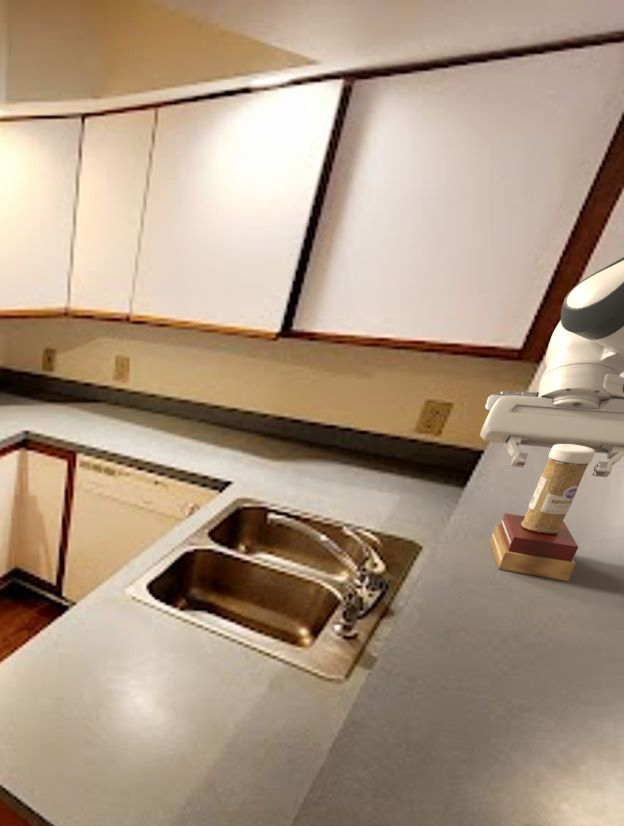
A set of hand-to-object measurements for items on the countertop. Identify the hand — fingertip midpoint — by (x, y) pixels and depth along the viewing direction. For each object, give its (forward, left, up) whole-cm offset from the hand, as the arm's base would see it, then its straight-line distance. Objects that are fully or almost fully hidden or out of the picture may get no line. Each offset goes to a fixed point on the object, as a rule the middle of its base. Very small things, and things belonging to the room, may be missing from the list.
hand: (558, 470), depth 97 cm
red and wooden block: (0, +4, -14) cm, 15 cm away
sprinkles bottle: (0, +4, -9) cm, 10 cm away
